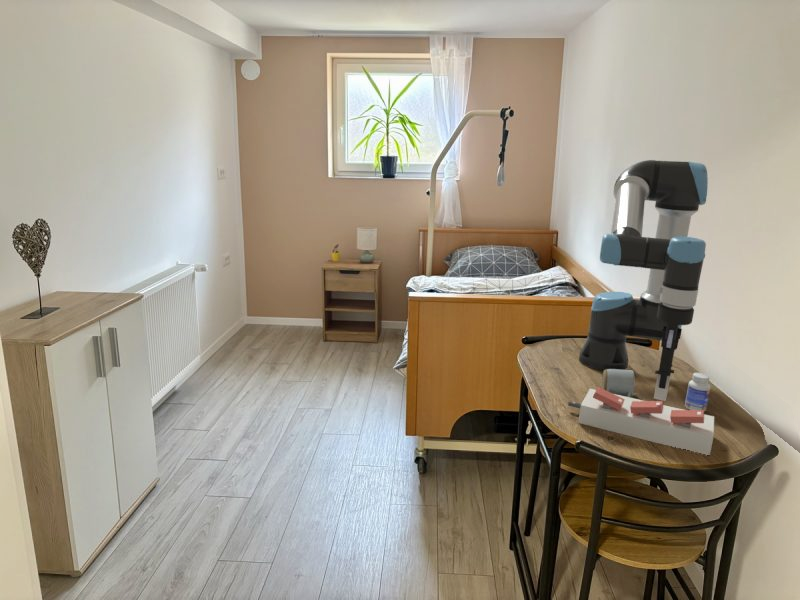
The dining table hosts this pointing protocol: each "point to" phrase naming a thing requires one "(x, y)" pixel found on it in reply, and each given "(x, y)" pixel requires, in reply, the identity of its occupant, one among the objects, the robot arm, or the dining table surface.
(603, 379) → the ceramic mug
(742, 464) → the dining table surface
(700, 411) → the block
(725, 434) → the dining table surface
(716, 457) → the dining table surface
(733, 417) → the dining table surface
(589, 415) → the switch panel
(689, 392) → the pill bottle
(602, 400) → the block
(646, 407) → the block
